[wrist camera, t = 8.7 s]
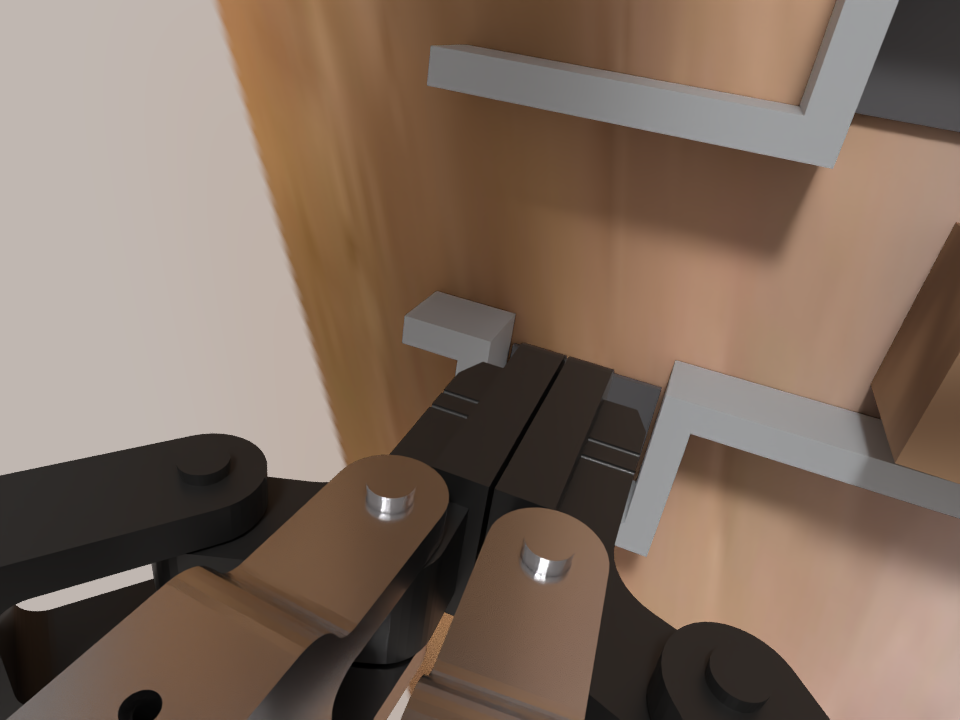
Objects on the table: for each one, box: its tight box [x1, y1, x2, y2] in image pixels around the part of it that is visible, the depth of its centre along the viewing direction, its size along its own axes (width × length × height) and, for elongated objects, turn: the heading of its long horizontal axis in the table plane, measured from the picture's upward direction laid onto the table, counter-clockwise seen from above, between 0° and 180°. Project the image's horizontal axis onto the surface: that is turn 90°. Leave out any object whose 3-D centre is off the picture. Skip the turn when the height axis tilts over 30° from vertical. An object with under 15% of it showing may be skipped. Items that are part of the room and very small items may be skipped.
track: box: [402, 0, 960, 557], centre depth 18 cm, size 19×24×2 cm
